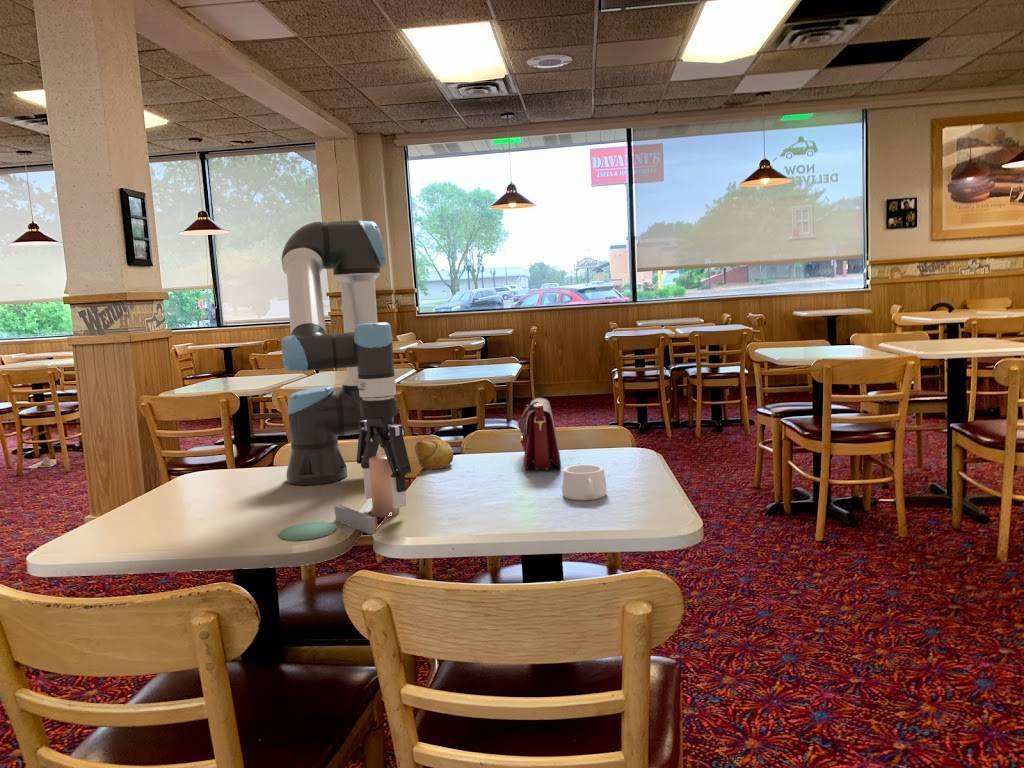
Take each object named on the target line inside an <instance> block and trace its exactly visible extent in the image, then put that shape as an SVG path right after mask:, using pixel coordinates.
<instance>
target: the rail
mask: <svg viewBox="0 0 1024 768" xmlns="http://www.w3.org/2000/svg"><path fill="white" fill-rule="evenodd" d="M334 517H335V518H334V519H335V521H336V520H338V521H337V522H339V521H340V522H339V523H341V522H343V523H342V524H344V523H345V524H344V525H346V524H348V525H350V526H349V527H351V526H352V527H351V528H353V529H355V530H358V531H361V532H363V533H366V534H368V535H372V534H375V533H376V530H375V529H376V528H375V518H374V517H375V516H371V515H368V514H365V513H363V512H360V511H358V510H355V509H352V508H349V507H347V506H344V505H342V504H337V505H334ZM348 525H347V526H348Z"/></svg>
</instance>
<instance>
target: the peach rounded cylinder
mask: <svg viewBox="0 0 1024 768" xmlns="http://www.w3.org/2000/svg"><path fill="white" fill-rule="evenodd" d="M369 468H370V481H371V495H372V498H371V505H372V517H375V518H388V517H387V516H388V515H389V513H390V512H392V516H391V517H395V516H398V515H399V514H400V508H396V509H395V508H393V498H392V484H391V475H392V474H393V473H392V470H391V467H390V465H389V462H388V459H387V457H386V454H378V455H377V454H376V456H372V457H370V458H369ZM390 515H391V514H390Z"/></svg>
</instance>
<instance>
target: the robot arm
mask: <svg viewBox="0 0 1024 768" xmlns="http://www.w3.org/2000/svg"><path fill="white" fill-rule="evenodd" d="M385 266H386V254H385V247H384V243H383V238H382V234H381V231H380V228H379V226H378V225H377V223H375V222H374V221H371V220H341V221H339V220H338V221H313V222H309V223H308V224H305V225H303V226H301V227H300V228H299V229H297V230H296V231H295V232H294V233H292V234H291V236H290V237H289V238H288V239H287V241H286V243H285V245H284V247H283V250H282V254H281V268H282V271H283V272H284V274H285V275H286V280H287V281H286V282H287V294H288V295H287V296H288V297H287V298H288V310H289V314H288V315H289V324H290V325H289V327H290V330H289V331H290V335H285V336H283V337H282V338H281V355H282V364H283V368H284V369H285V370H286V371H288V372H307V371H316V370H318V371H319V370H329V369H344V368H346V373H347V374H346V377H345V379H344V380H343V381H342V382H341V388H342V389H341V390H340V389H339V390H335V388H334V386H333V385H324V386H323V385H321V386H316V387H311V388H306V389H302V390H299V391H295V392H294V393H293V392H292V393H291V394H290V395H289V397H288V398H287V413H286V414H287V415H288V421H289V435H290V437H289V438H290V447H291V448H290V449H291V452H290V456H289V461H288V465H287V470H286V476H285V477H286V482H287V483H288V484H290V485H295V486H296V485H297V486H315V485H323V484H324V485H325V484H329V483H333V482H337V481H341V480H343V479H345V478H347V477H348V466H347V464H346V462H345V460H344V457H343V455H342V452H341V450H340V447H339V440H338V439H339V438H338V437H341V436H351V435H358V441H357V442H358V443H357V449H356V450H357V451H356V463H357V464H360V467H361V468H362V470H363V471H362V473H363V483H364V484H363V485H364V497H365V499H366V500H369V499H372V495H371V481H370V468H369V458H370V457H372V456H377V453H378V449H379V447H381V448H383V450H384V453H385V454H384V455H386V457H387V459H388V462H389V465H390V467H391V470H392V473H393V474H392V475H391V484H392V498H393V508H395V509H396V508H399V509H400V508H403V507H404V508H405V507H407V494H406V488H407V487H406V477H405V476H406V475H408V474H411V473H412V467H411V464H410V460H409V455H408V451H407V447H406V443H405V440H404V432H403V425H402V424H398V425H394V417H395V416H396V415H398V403H397V400H398V399H397V398H396V397H395V395H397V386H396V376H395V365H394V363H395V362H394V349H393V347H394V344H393V341H394V337H393V334H392V326H391V324H390V323H389V322H387V321H384V322H382V321H381V322H378V308H377V294H376V293H377V292H376V280H377V279H378V278H379V276H380V275H381V268H384V267H385ZM324 269H325V270H332V273H333V277H334V278H335V279H336V280H337V281H339V283H340V292H341V293H340V294H341V295H340V296H341V307H342V319H343V320H342V321H343V332H336V333H335V332H334V333H327V329H326V320H325V319H326V318H325V311H324V301H323V300H324V299H323V292H322V282H321V273H322V271H323V270H324Z"/></svg>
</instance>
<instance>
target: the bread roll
mask: <svg viewBox="0 0 1024 768" xmlns="http://www.w3.org/2000/svg"><path fill="white" fill-rule="evenodd" d="M414 451H415V455H416V457H417V459H418V463H419V466H420V467H421V468H422V469H425V470H439V469H445V468H447V467H449V466H450V465H451V463H452V462H453V460H454V452H453V449H452V446H451V445H450V444H449V443H448V442H446V441H445V440H442V439H439V438H435V439H428V440H422V439H421V440H418V441H417V442H416V444H415V445H414Z"/></svg>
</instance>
